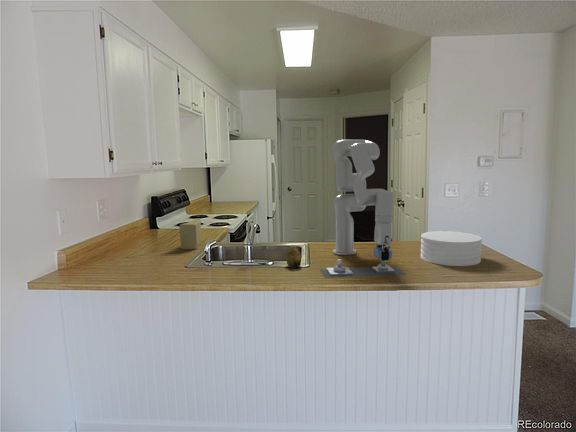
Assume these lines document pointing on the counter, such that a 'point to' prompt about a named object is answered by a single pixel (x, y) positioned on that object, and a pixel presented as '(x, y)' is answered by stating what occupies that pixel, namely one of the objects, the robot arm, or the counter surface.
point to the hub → (339, 269)
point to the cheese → (190, 234)
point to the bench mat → (364, 272)
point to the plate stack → (451, 248)
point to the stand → (383, 268)
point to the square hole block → (378, 253)
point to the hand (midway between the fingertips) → (382, 257)
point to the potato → (293, 258)
